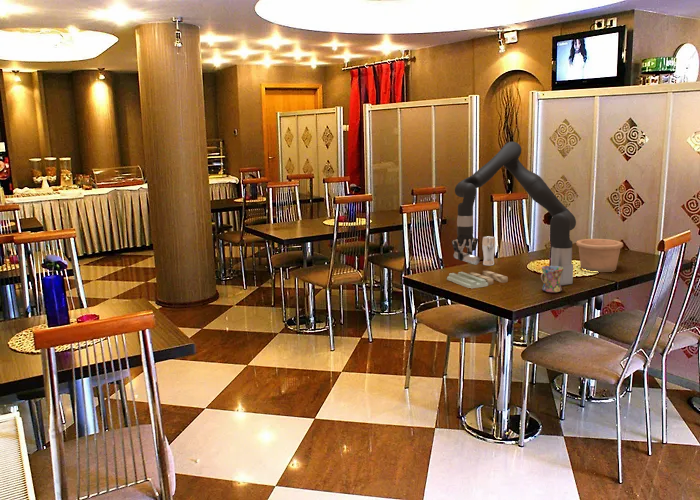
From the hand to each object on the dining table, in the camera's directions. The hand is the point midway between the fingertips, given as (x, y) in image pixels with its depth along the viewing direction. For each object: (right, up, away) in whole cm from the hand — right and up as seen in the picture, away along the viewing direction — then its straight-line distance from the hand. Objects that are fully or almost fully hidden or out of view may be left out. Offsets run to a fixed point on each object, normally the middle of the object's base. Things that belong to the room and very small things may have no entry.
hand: (464, 259), depth 282 cm
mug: (+34, -14, -20) cm, 42 cm away
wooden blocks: (+12, -10, +4) cm, 16 cm away
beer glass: (+21, -3, +39) cm, 44 cm away
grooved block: (+1, -11, 0) cm, 11 cm away
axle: (0, +1, -1) cm, 2 cm away
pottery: (+72, -6, +19) cm, 75 cm away
